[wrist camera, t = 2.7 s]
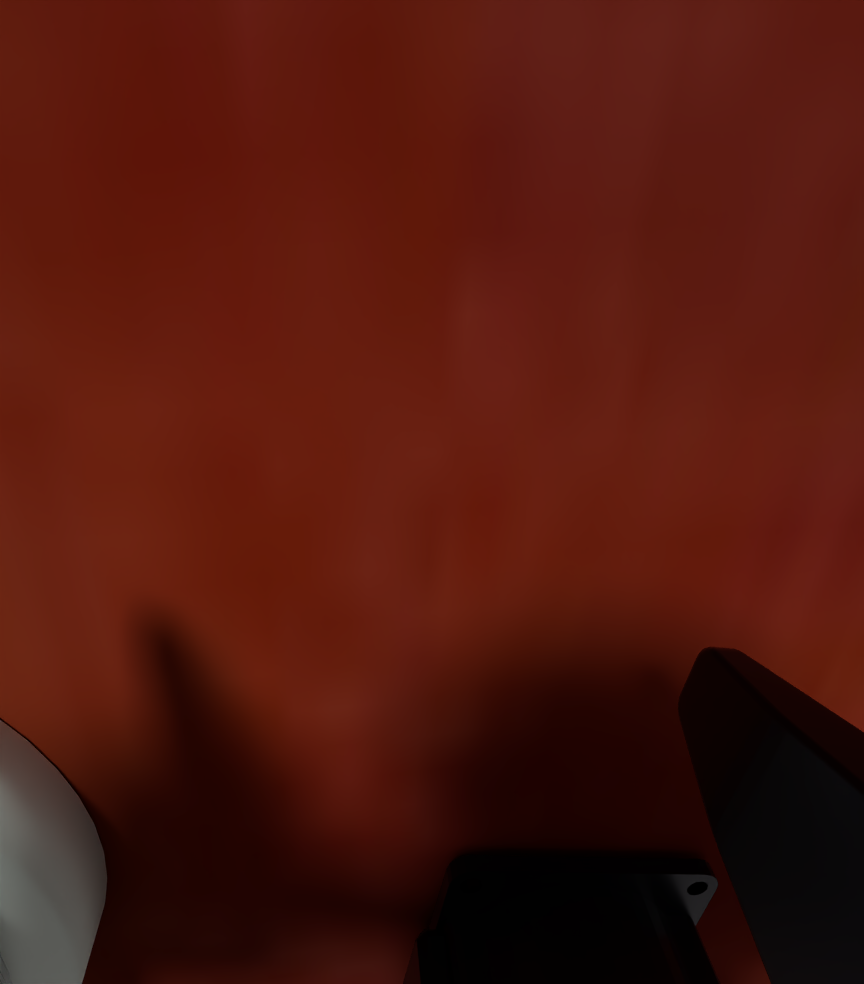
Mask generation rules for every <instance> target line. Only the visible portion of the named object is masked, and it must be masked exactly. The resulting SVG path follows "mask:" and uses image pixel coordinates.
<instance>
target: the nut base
mask: <svg viewBox="0 0 864 984" xmlns="http://www.w3.org/2000/svg"><path fill="white" fill-rule="evenodd" d="M106 888H107V871H106V864H105V856H104V850H103V848H102V845H101V842H100V839H99V836H98V833H97V830H96V827H95V824H94V823H93V821H92V819H91V817H90V816H89V814H88V812H87V810H86V808H85V807H84V805H83V803H82V801H81V800H80V798H79V796H78V795H77V794H76V792H75V791H74V790H73V789H72V787H71V786H70V785H69V784H68V782H67V781H66V780H65V779H64V777H63V776H62V775H61V773H60V772H59V771H58V770H57V768H56V767H55V766H53V765H52V764H51V763H50V762H49V761H48V760H47V759H46V758H45V757H44V756H43V755H42V754H41V753H40V752H39V751H38V750H37V749H36V748H35V747H34V746H33V745H32V744H31V743H30V742H29V741H27V740H26V739H25V738H24V737H22V736H21V735H20V734H18V733H17V732H16V731H14V730H13V729H12V728H10V727H9V726H8V725H6V724H5V723H4V722H2V721H1V720H0V954H1V956H2V958H3V960H4V962H5V964H6V966H7V968H8V970H9V973H10V977H11V981H12V984H82V981H83V978H84V975H85V971H86V968H87V964H88V961H89V957H90V954H91V950H92V947H93V943H94V940H95V936H96V933H97V929H98V926H99V923H100V919H101V916H102V912H103V909H104V905H105V900H106Z"/></svg>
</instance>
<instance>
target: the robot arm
mask: <svg viewBox="0 0 864 984" xmlns="http://www.w3.org/2000/svg"><path fill="white" fill-rule="evenodd" d="M678 712H679V718H680V722H681V725H682V729H683V732H684V736H685V739H686V743H687V746H688V750H689V753H690V757H691V761H692V764H693V768H694V771H695V775H696V778H697V782H698V785H699V789H700V792H701V796H702V799H703V803H704V806H705V810H706V813H707V817H708V820H709V823H710V826H711V829H712V832H713V835H714V838H715V841H716V843H717V846H718V849H719V852H720V854H721V857H722V859H723V862H724V864H725V867H726V869H727V872H728V875H729V877H730V880H731V882H732V885H733V887H734V890H735V892H736V895H737V898H738V900H739V903H740V905H741V908H742V910H743V913H744V915H745V918H746V920H747V923H748V926H749V928H750V931H751V933H752V936H753V938H754V941H755V943H756V946H757V948H758V951H759V954H760V956H761V959H762V961H763V964H764V966H765V969H766V971H767V974H768V976H769V979H770V982H771V984H864V732H862V731H861V730H859V729H858V728H856V727H855V726H853V725H852V724H850V723H849V722H847V721H846V720H844V719H843V718H841V717H840V716H838V715H837V714H835V713H833V712H832V711H830V710H829V709H827V708H826V707H824V706H823V705H821V704H820V703H818V702H817V701H815V700H814V699H812V698H811V697H809V696H808V695H806V694H805V693H803V692H802V691H800V690H799V689H797V688H796V687H794V686H793V685H791V684H790V683H788V682H787V681H785V680H783V679H782V678H780V677H779V676H777V675H776V674H774V673H773V672H771V671H770V670H768V669H767V668H765V667H764V666H762V665H761V664H759V663H758V662H756V661H755V660H753V659H752V658H750V657H749V656H747V655H746V654H744V653H743V652H741V651H739V650H736V649H730V648H717V647H708V648H705V649H703V650H702V651H701V652H700V653H699V655H698V656H697V658H696V661H695V663H694V665H693V667H692V670H691V672H690V674H689V676H688V678H687V681H686V683H685V685H684V687H683V690H682V692H681V694H680V697H679V702H678ZM717 886H718V882H717V879H716V877H715V875H714V873H713V871H712V869H711V867H710V865H709V863H708V862H706V861H705V860H700V859H667V858H615V857H563V856H511V855H466V856H462V857H459V858H457V859H455V860H454V861H452V862H451V863H450V864H449V866H448V867H447V869H446V872H445V876H444V879H443V882H442V886H441V889H440V893H439V896H438V899H437V903H436V906H435V909H434V913H433V916H432V919H431V923H430V926H429V929H424V931H423V932H422V933H421V934H420V935H419V936H418V938H417V939H416V941H415V944H414V948H413V951H412V954H411V958H410V961H409V965H408V968H407V972H406V975H405V979H404V982H403V984H720V982H719V979H718V977H717V975H716V972H715V970H714V968H713V965H712V963H711V961H710V959H709V956H708V954H707V952H706V949H705V947H704V945H703V942H702V940H701V938H700V935H699V933H698V931H697V928H696V924H697V923H698V921H699V919H700V917H701V916H702V914H703V912H704V910H705V909H706V907H707V905H708V903H709V901H710V900H711V898H712V896H713V894H714V893H715V891H716V889H717Z"/></svg>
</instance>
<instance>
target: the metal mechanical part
mask: <svg viewBox="0 0 864 984" xmlns="http://www.w3.org/2000/svg"><path fill="white" fill-rule="evenodd" d="M0 984H12V981H11V977H10V973H9V970H8V968H7V966H6V964H5V962H4V960H3V958H2V956H1V954H0Z"/></svg>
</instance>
